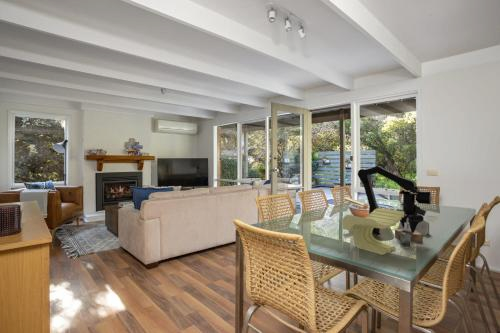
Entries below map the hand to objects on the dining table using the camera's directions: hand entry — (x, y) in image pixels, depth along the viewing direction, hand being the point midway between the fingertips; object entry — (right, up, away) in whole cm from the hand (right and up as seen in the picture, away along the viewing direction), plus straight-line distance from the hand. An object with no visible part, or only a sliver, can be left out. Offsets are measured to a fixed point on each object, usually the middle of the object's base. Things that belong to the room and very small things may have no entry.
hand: (408, 230), depth 150 cm
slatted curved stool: (-26, -6, -14) cm, 31 cm away
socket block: (0, -5, 0) cm, 5 cm away
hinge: (+12, -5, +15) cm, 20 cm away
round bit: (-8, -5, -10) cm, 14 cm away
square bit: (0, -5, 0) cm, 5 cm away
